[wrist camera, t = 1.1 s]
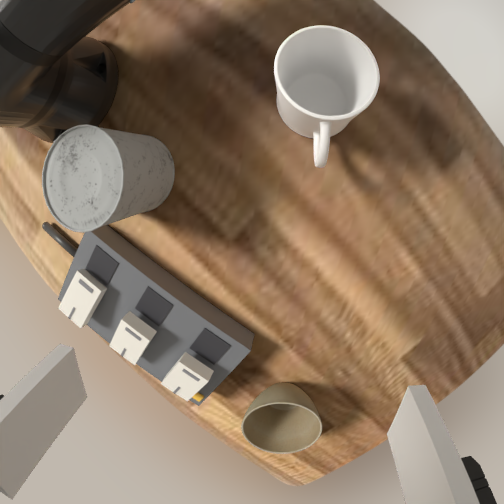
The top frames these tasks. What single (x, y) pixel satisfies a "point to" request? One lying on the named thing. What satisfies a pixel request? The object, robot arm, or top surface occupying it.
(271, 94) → the top surface
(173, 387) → the rocker
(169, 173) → the grey concrete cylinder
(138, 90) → the top surface
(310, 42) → the mug
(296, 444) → the flower pot
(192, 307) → the power strip
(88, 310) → the rocker
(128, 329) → the block
